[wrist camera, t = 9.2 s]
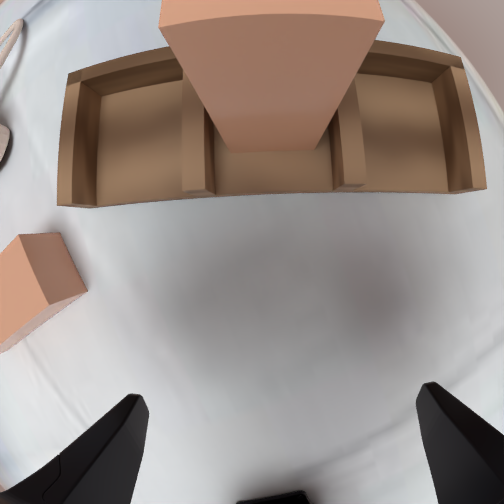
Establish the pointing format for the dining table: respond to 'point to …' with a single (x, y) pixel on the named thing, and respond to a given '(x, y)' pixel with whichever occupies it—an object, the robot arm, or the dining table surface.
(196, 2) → the clay bar
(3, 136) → the toilet paper hanger
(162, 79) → the tray
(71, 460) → the robot arm
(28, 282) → the clay bar
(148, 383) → the dining table surface
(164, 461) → the dining table surface
